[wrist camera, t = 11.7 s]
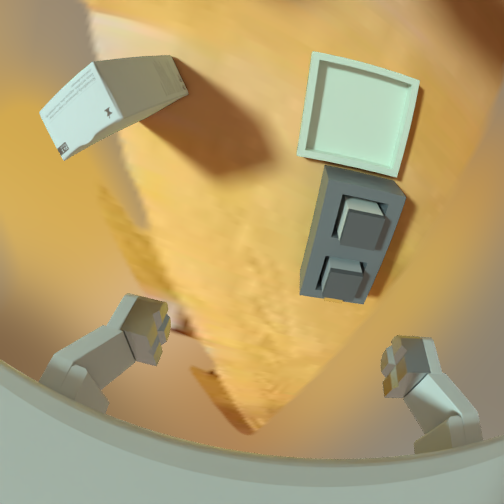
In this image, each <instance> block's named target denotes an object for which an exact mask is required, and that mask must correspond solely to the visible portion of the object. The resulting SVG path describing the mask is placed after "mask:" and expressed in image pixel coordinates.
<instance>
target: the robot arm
mask: <svg viewBox="0 0 504 504" xmlns="http://www.w3.org/2000/svg"><path fill="white" fill-rule="evenodd" d="M167 311H168V305H167V303H166V302H162V301H158V300H154V299H150V298H146V297H142V296H138V295H134V294H130V293H127V294H126V295H125V296H124V297H123V299H122V300H121V302H120V304H119V305H118V307H117V309H116V310H115V312H114V314H113V315H112V317H111V319H110V321H109V322H108V324H107V326H104V325H102V326H101V327H99V328H97V329H96V330H94V331H92V332H91V333H89V334H87V335H86V336H84V337H82V338H80V339H79V340H77V341H75V342H74V343H72V344H70V345H69V346H67V347H65V348H63V349H62V350H60V351H59V352H57V353H55V354H54V356H53V357H52V359H51V361H50V362H49V364H48V366H47V368H46V369H45V371H44V373H43V375H42V377H41V378H40V380H39V382H37V381H35V380H34V379H32V378H30V377H28V376H26V375H25V374H23V373H22V372H20V371H18V370H17V369H15V368H13V367H12V366H10V365H8V364H7V363H6V362H4V361H2V360H1V359H0V504H504V435H501V436H497V437H494V438H491V439H487V440H483V438H482V431H481V426H480V421H479V416H478V412H477V410H476V409H475V408H474V407H473V405H472V404H471V403H470V402H469V401H468V399H467V398H466V397H465V396H464V395H463V394H462V392H461V391H460V390H459V389H458V388H457V386H456V385H455V384H454V383H453V382H452V381H451V379H450V378H449V377H448V376H447V375H446V374H445V373H442V370H441V366H440V363H439V359H438V355H437V352H436V348H435V345H434V341H433V339H432V338H429V337H418V336H399V335H397V336H395V337H394V338H393V340H392V341H391V343H392V346H390V347H388V348H387V349H386V350H385V351H384V353H383V355H382V359H381V372H382V373H383V375H384V376H385V377H386V378H385V379H384V381H383V390H384V397H385V398H403V400H404V401H405V403H406V404H407V406H408V408H409V409H410V411H411V412H412V414H413V416H414V417H415V419H416V421H417V422H418V424H419V426H420V427H421V429H422V431H423V432H424V434H425V435H424V436H422V437H421V438H419V439H418V440H416V441H415V443H414V451H415V454H413V455H404V456H395V457H383V458H365V459H312V458H295V457H283V456H273V455H264V454H257V453H249V452H243V451H236V450H231V449H225V448H220V447H215V446H210V445H205V444H201V443H196V442H192V441H188V440H184V439H180V438H177V437H173V436H169V435H165V434H162V433H159V432H155V431H152V430H149V429H146V428H143V427H140V426H137V425H134V424H131V423H128V422H125V421H123V420H120V419H117V418H115V417H112V416H109V415H107V414H105V412H106V410H107V407H108V405H109V401H108V399H107V398H106V396H105V395H104V394H103V392H102V391H101V389H103V388H104V387H105V386H106V385H108V384H109V383H110V382H111V381H113V380H114V379H115V378H116V377H118V376H119V375H120V374H121V373H123V372H124V371H125V370H126V369H128V368H129V367H130V366H131V365H132V364H134V363H135V361H138V362H142V363H146V364H150V365H154V366H157V364H158V362H159V359H160V357H161V354H162V347H161V345H162V344H164V343H165V342H167V339H168V337H169V333H170V328H171V321H170V317H169V316H168V315H167Z"/></svg>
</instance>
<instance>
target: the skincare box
mask: <svg viewBox="0 0 504 504" xmlns="http://www.w3.org/2000/svg"><path fill="white" fill-rule="evenodd" d="M188 94H189V93H188V91H187V88H186V86H185V84H184V82H183V80H182V78H181V76H180V74H179V71H178V69H177V67H176V65H175V63H174V61H173V59H172V57H171V56H170V55H161V56H142V57H130V58H120V59H112V60H104V61H96V62H91V63H90V64H89V65H88V66H87V67H85V68H84V69H83V70H82V71H81V72H80V73H78V74H77V75H76V76H75V77H74V78H73V79H72V80H71V81H69V82H68V83H67V84H66V85H65V86H64V87H63V88H62V89H61V90H60V91H59V92H58V93H57V94H56V95H55V96H54V97H53V98H52V99H51V100H50V101H49V102H48V103H47V104H46V105H45V107H44V108H43V109H42V110H41V111H40V116H41V118H42V120H43V122H44V124H45V126H46V128H47V130H48V132H49V134H50V136H51V138H52V140H53V142H54V144H55V146H56V148H57V149H58V151H59V152H60V155H61V157H62V159H63V160H64V161H65V160H66V159H68V158H70V157H71V156H73V155H74V154H77V153H78V152H80V151H82V150H84V149H85V148H87V147H89V146H90V145H93V144H94V143H96V142H98V141H100V140H102V139H104V138H106V137H108V136H110V135H112V134H114V133H116V132H118V131H120V130H122V129H124V128H126V127H128V126H130V125H132V124H134V123H136V122H139V121H141V120H143V119H145V118H147V117H149V116H151V115H152V114H154V113H156V112H158V111H159V110H161V109H163V108H164V107H166V106H168V105H170V104H171V103H173V102H175V101H176V100H178V99H180V98H182V97H184V96H186V95H188Z"/></svg>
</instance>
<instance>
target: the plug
mask: <svg viewBox="0 0 504 504" xmlns="http://www.w3.org/2000/svg"><path fill="white" fill-rule="evenodd" d="M384 221H385V218H384V216H383V214H382V212H381V210H380V208H379V206H378V204H377V203H376V201H372V200H368V199H363V198H359V197H354V196H349V195H344V194H343V195H342V199H341V202H340V206H339V210H338V214H337V218H336V221H335V223H336V228H337V232H338V237H339V242H340V245H344V246H350V247H355V248H361V249H366V250H372V251H374V249H375V246H376V244H377V241H378V238H379V236H380V233H381V230H382V227H383V224H384Z"/></svg>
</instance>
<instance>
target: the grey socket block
mask: <svg viewBox="0 0 504 504" xmlns="http://www.w3.org/2000/svg"><path fill="white" fill-rule="evenodd" d="M343 194H344V195H349V196H354V197H359V198H363V199H368V200H372V201H376V203H377V204H378V206H379V208H380V210H381V212H382V214H383V216H384V218H385V221H384V224H383V227H382V230H381V233H380V236H379V238H378V241H377V244H376V246H375V249H374V251H372V250H366V249H361V248H355V247H350V246H344V245H340V242H339V237H338V232H337V228H336V223H335V221H336V218H337V214H338V210H339V206H340V202H341V199H342V195H343ZM405 200H406V196H405V195H404V193H403V192H402V191H401V189H400V188H399V187H398V185H397V184H396V183H395V182H394V181H393V180H389V179H385V178H381V177H377V176H373V175H369V174H364V173H360V172H356V171H351V170H347V169H342V168H337V167H332V166H327V165H325V166H324V171H323V175H322V180H321V185H320V189H319V194H318V198H317V203H316V207H315V212H314V216H313V220H312V225H311V229H310V233H309V237H308V241H307V246H306V250H305V254H304V258H303V262H302V266H301V269H300V295H304V296H310V297H317V298H323V299H324V301H329V302H335V303H342V301H344V302H351V303H358V304H364V302H365V300H366V297H367V295H368V293H369V291H370V289H371V287H372V284H373V282H374V280H375V278H376V275H377V273H378V271H379V268H380V266H381V264H382V261H383V259H384V256H385V254H386V251H387V249H388V246H389V244H390V241H391V239H392V236H393V234H394V231H395V228H396V226H397V223H398V220H399V217H400V214H401V212H402V209H403V206H404V203H405ZM325 256H330V257H336V258H341V259H347V260H353V261H359V262H360V266H361V270H362V274H363V279H362V281H361V284H360V286H359V288H358V291H357V293H356V295H355V298H354V300H353V301H346V300H339V299H332V298H325V297H322V283H321V269H322V266H323V263H324V260H325Z"/></svg>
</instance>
